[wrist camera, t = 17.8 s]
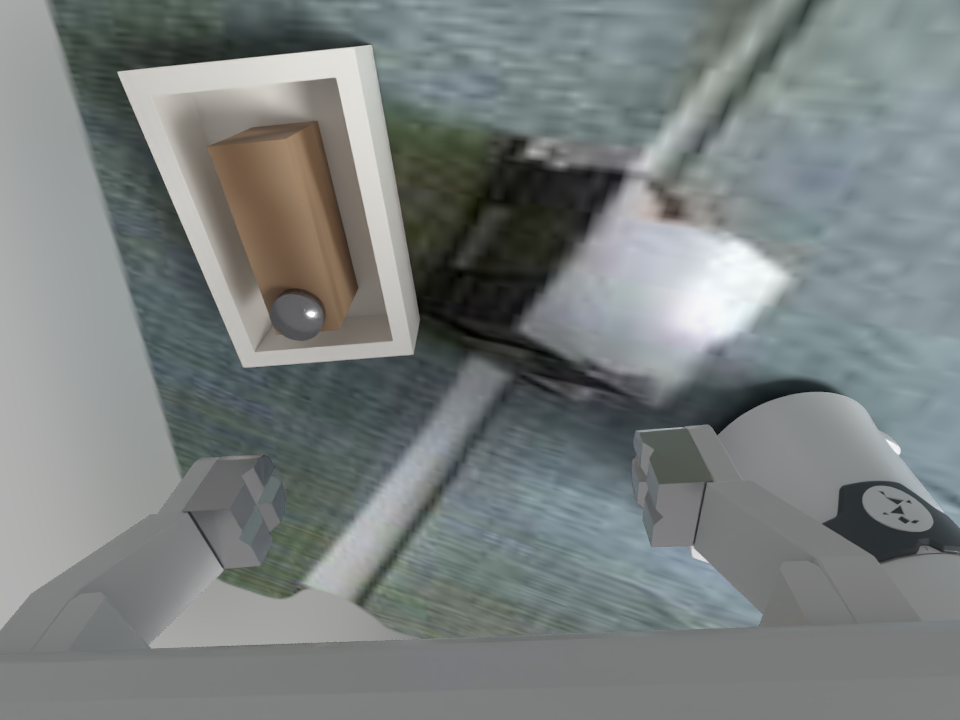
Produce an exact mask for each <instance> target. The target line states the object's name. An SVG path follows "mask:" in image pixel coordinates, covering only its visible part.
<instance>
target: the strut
mask: <svg viewBox="0 0 960 720" xmlns="http://www.w3.org/2000/svg"><path fill="white" fill-rule="evenodd" d="M208 150H209V153H210V155H211V158H212V161H213V164H214V166H215V169H216V172H217V174H218V177H219V180H220V183H221V185H222V188H223V191H224V194H225V196H226V199H227V202H228V204H229V207H230V210H231V213H232V215H233V218H234V221H235V224H236V226H237V229H238V232H239V234H240V237H241V240H242V243H243V245H244V248H245V251H246V254H247V256H248V259H249V262H250V264H251V267H252V270H253V273H254V275H255V278H256V281H257V284H258V286H259V289H260V292H261V295H262V297H263V300H264V303H265V305H266V308H267V311H268V314H269V316H270V320H271V322H272V325H273V327H274V330H275V333H276V335H283V336H285V337H287V338H289V339H292V340H296V341H305V340H309V339H312V338H314V337H315V336H316V335H317V334H318V333H319V332H320V331H332V330H340V328H341V325H342V323H343V321H344V319H345V317H346V314H347V312H348V310H349V308H350V306H351V303H352V301H353V299H354V297H355V295H356V292H357V290H358V284H357V280H356V276H355V272H354V268H353V264H352V260H351V256H350V251H349V247H348V243H347V239H346V235H345V231H344V227H343V223H342V219H341V215H340V211H339V206H338V202H337V198H336V194H335V190H334V186H333V182H332V178H331V174H330V170H329V166H328V161H327V157H326V153H325V149H324V145H323V141H322V137H321V133H320V129H319V125H318V121H311V122H301V123H291V124H280V125H270V126H260V127H252V128H249V129H247V130H245V131H242V132H240V133H238V134H236V135H233V136H231V137H229V138H226V139H224V140H222V141H219V142H217V143H215V144H212V145H210V146H208Z"/></svg>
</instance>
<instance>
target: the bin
mask: <svg viewBox="0 0 960 720" xmlns="http://www.w3.org/2000/svg"><path fill="white" fill-rule="evenodd" d="M117 73H118V75H119V78H120V80H121V82H122V85H123V87H124V89H125V92H126V94H127V96H128V99H129V101H130V103H131V106H132V108H133V110H134V113H135V115H136V117H137V120H138V122H139V125H140V127H141V129H142V132H143V134H144V136H145V139H146V141H147V143H148V146H149V148H150V150H151V153H152V155H153V157H154V160H155V162H156V164H157V167H158V169H159V171H160V174H161V176H162V178H163V181H164V183H165V185H166V188H167V190H168V192H169V195H170V197H171V199H172V202H173V204H174V206H175V209H176V211H177V213H178V216H179V218H180V220H181V223H182V225H183V228H184V230H185V232H186V235H187V237H188V239H189V242H190V244H191V246H192V249H193V251H194V253H195V256H196V258H197V260H198V263H199V265H200V267H201V270H202V272H203V274H204V277H205V279H206V281H207V284H208V286H209V288H210V291H211V293H212V295H213V298H214V300H215V302H216V305H217V307H218V309H219V312H220V314H221V316H222V319H223V321H224V323H225V326H226V328H227V330H228V333H229V335H230V338H231V340H232V342H233V345H234V347H235V349H236V352H237V354H238V356H239V359H240V361H241V363H242V366H243V368H248V367H261V366H274V365H287V364H300V363H312V362H325V361H338V360H351V359H364V358H376V357H389V356H402V355H413V354H414V349H415V344H416V338H417V333H418V328H419V323H420V316H419V310H418V305H417V299H416V293H415V287H414V282H413V276H412V270H411V265H410V259H409V253H408V248H407V242H406V236H405V230H404V225H403V219H402V213H401V208H400V202H399V196H398V191H397V185H396V179H395V174H394V168H393V162H392V156H391V151H390V145H389V139H388V134H387V128H386V122H385V117H384V111H383V105H382V99H381V94H380V88H379V82H378V77H377V71H376V65H375V60H374V54H373V48H372V45H364V46H354V47H345V48H335V49H326V50H316V51H306V52H297V53H287V54H278V55H268V56H258V57H249V58H239V59H230V60H220V61H210V62H201V63H191V64H182V65H172V66H163V67H154V68H145V69H136V70H128V71H119V72H117ZM311 121H318V125H319V129H320V133H321V137H322V141H323V145H324V149H325V153H326V157H327V161H328V166H329V170H330V174H331V178H332V182H333V186H334V190H335V194H336V198H337V202H338V206H339V211H340V215H341V219H342V223H343V227H344V231H345V235H346V239H347V243H348V247H349V251H350V256H351V260H352V264H353V268H354V272H355V276H356V280H357V284H358V290H357V292H356V295H355V297H354V299H353V301H352V303H351V306H350V308H349V310H348V312H347V314H346V317H345V319H344V321H343V323H342V325H341V328H340V330H332V331H320V332H319V333H318V334H317V335H316V336H315V337H314V338H312V339H309V340H305V341H296V340H292V339H289V338H287V337H285V336H283V335H276V333H275V330H274V327H273V325H272V322H271V320H270V316H269V314H268V311H267V308H266V305H265V303H264V300H263V297H262V295H261V292H260V289H259V286H258V284H257V281H256V278H255V275H254V273H253V270H252V267H251V264H250V262H249V259H248V256H247V254H246V251H245V248H244V245H243V243H242V240H241V237H240V234H239V232H238V229H237V226H236V224H235V221H234V218H233V215H232V213H231V210H230V207H229V204H228V202H227V199H226V196H225V194H224V191H223V188H222V185H221V183H220V180H219V177H218V174H217V172H216V169H215V166H214V164H213V161H212V158H211V155H210V153H209V150H208V146H210V145H212V144H215V143H217V142H219V141H222V140H224V139H226V138H229V137H231V136H233V135H236V134H238V133H240V132H242V131H245V130H247V129H249V128H252V127H260V126H270V125H280V124H291V123H301V122H311Z"/></svg>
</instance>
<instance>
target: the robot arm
mask: <svg viewBox="0 0 960 720" xmlns="http://www.w3.org/2000/svg"><path fill="white" fill-rule="evenodd" d="M633 446H634V448H635V451H636V454H637V455H636V456H635V457H634V458H633V459H632V469H631V473H632V484H633V489H634V494H635V497H636V500H637V503H638V504H639V505H640V506H641V507H643V508H644V512H643V523H644V526H645V529H646V532H647V535H648V538H649V541H650V544H651V547H672V546H687V548H688V550H689V552H690V554H691V556H692V557H693V558H695V559H698V560H701V561H704V562H709V563H710V564H711V565H712V566H713V567H714V568H715V569H716V570H717V571H718V572H719V573H720V574H722V575H723V576H724V577H725V578H726V579H727V580H728V581H729V582H730V583H731V584H732V585H733V586H734V587H735V588H736V589H737V590H738V591H739V592H740V593H741V594H742V595H743V596H745V597H746V598H747V599H748V600H749V601H750V602H751V603H752V604H753V605H754V606H755V607H756V608H757V609H758V610H759V611H760V612H761V613H762V614H763V616H762V619H761V622H760V624H759V627H746V628H717V629H689V630H661V631H633V632H604V633H577V634H551V635H524V636H497V637H470V638H442V639H413V640H386V641H355V642H326V643H299V644H270V645H243V646H214V647H189V648H188V647H187V648H159V649H158V648H157V649H151V648H150V647H149V646H148V645H149V644H150V643H151V642H152V641H153V640H154V639H155V638H156V637H157V636H158V635H159V634H160V633H161V632H162V631H163V630H164V629H165V628H166V627H167V626H168V625H169V624H170V623H171V622H172V621H173V620H174V619H175V618H176V617H177V616H178V615H179V614H181V613H182V611H183V610H184V609H185V608H186V607H188V605H190V604H191V603H192V602H193V601H194V600H195V599H196V598H197V597H198V596H199V595H200V594H201V593H202V592H203V591H204V590H205V589H206V588H207V587H208V586H209V585H210V584H211V583H212V582H213V581H214V580H215V579H216V578H217V577H218V576H219V575H220V574H221V573H222V572H223V569H225V568H238V567H251V566H261V565H262V563H263V560H264V558H265V556H266V554H267V551H268V549H269V547H270V545H271V543H272V540H273V539H272V536H271V533H270V531H271V530H272V529H273V528H275V527H276V526H277V525H278V524H279V523H280V522H281V520H282V517H283V515H284V513H285V506H286V494H285V489H284V486H283V484H282V482H281V481H280V480H279V479H277V478H276V477H274V476H273V475H272V473H273V471H274V468H275V466H274V464H273V462H272V460H271V458H270V457H269V456H266V455H250V456H225V457H212V458H201V459H199V460H197V461H195V462H194V464H193V465H192V467H191V468H190V469H189V471H188V472H187V474H186V475H185V476H184V478H183V479H182V481H181V482H180V483H179V485H178V486H177V487H176V489H175V490H174V492H173V493H172V494H171V496H170V497H169V499H168V500H167V501H166V503H165V504H164V506H163V507H162V508H161V510H160V511H159V513H158V514H154V515H153V514H152V515H149V516H148V517H146V518H145V519H143V520H142V521H140V522H139V523H137V524H136V525H134V526H133V527H131V528H130V529H128V530H127V531H125V532H123V533H122V534H121V535H119V536H117V537H116V538H115V539H113V540H111V541H110V542H108V543H107V544H105V545H104V546H103V547H101V548H99V549H98V550H96V551H95V552H93V553H92V554H90V555H89V556H87V557H86V558H84V559H83V560H81V561H80V562H78V563H77V564H75V565H74V566H72V567H71V568H69V569H68V570H66V571H65V572H63V573H62V574H60V575H59V576H57V577H56V578H54V579H53V580H51V581H50V582H48V583H47V584H45V585H44V586H42V587H41V588H39V589H38V590H36V591H35V592H33V593H32V594H31V595H30V596H29V597H28V598H27V599H26V601H25V602H24V603H23V604H22V605H21V606H20V608H19V609H18V610H17V611H16V613H15V614H14V615H13V616H12V617H11V618H10V620H9V621H8V622H7V623H6V624H5V626H4V627H3V628H2V629H1V630H0V720H960V528H959V527H958V526H957V525H956V524H955V523H954V522H953V521H952V520H951V519H950V518H949V517H948V516H947V515H946V514H944V513H943V512H942V510H941V508H940V507H939V506H938V505H937V503H936V502H935V501H934V499H933V498H932V497H931V496H930V494H929V493H928V492H927V491H926V489H925V488H924V487H923V485H922V484H921V483H920V482H919V480H918V479H917V478H916V477H915V475H914V474H913V473H912V472H911V470H910V469H909V468H908V467H907V465H906V464H905V463H904V462H903V461H902V459H901V458H900V457H899V454H900V452H901V449H900V447H899V446H898V445H897V443H896V442H895V441H894V440H893V438H891V437H890V436H889V435H887V434H885V433H883V432H881V431H879V430H878V429H877V427H876V426H875V424H874V422H873V421H872V419H871V417H870V415H869V414H868V412H867V411H866V409H865V408H864V407H863V406H862V405H860V404H859V403H858V402H856V401H855V400H853V399H851V398H849V397H846V396H843V395H840V394H835V393H829V392H805V393H798V394H792V395H788V396H784V397H780V398H777V399H774V400H771V401H768V402H766V403H764V404H761V405H759V406H757V407H755V408H753V409H751V410H749V411H748V412H746V413H744V414H743V415H741V416H740V417H738V418H737V419H736V420H734V421H733V422H732V423H730V424H729V425H728V426H727V427H726V428H725V429H724V430H723V431H721V432H720V433H719V434H718V435H716V433H715V431H714V430H713V428H712V427H711V426H709V425H697V426H685V427H677V428H663V429H649V430H636V431H635V434H634V441H633Z"/></svg>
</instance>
